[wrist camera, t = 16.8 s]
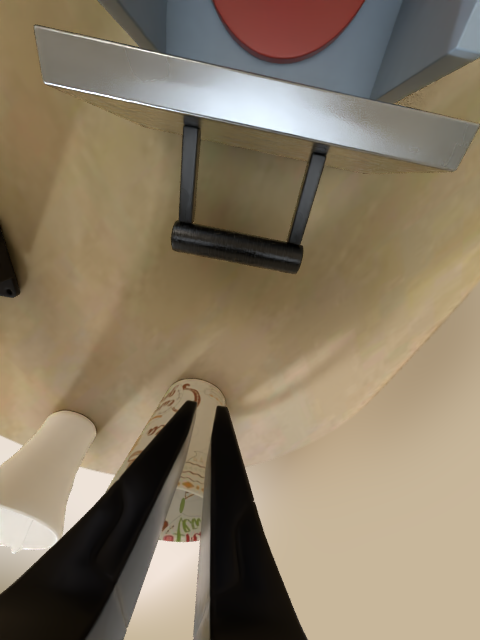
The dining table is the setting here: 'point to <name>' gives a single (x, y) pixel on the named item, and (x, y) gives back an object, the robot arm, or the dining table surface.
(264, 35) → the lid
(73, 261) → the dining table surface
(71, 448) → the cup
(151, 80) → the drawer
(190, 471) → the mug
